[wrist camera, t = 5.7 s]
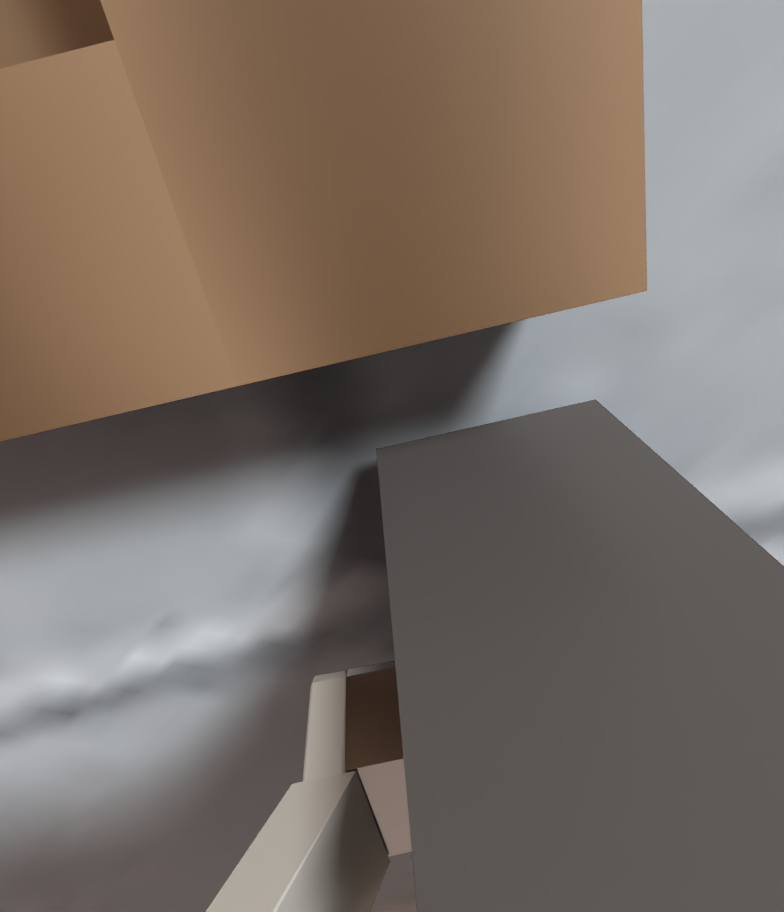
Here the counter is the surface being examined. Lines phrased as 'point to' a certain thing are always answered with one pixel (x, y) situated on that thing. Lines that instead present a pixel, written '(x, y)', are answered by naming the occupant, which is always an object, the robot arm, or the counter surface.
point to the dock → (300, 185)
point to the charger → (581, 675)
